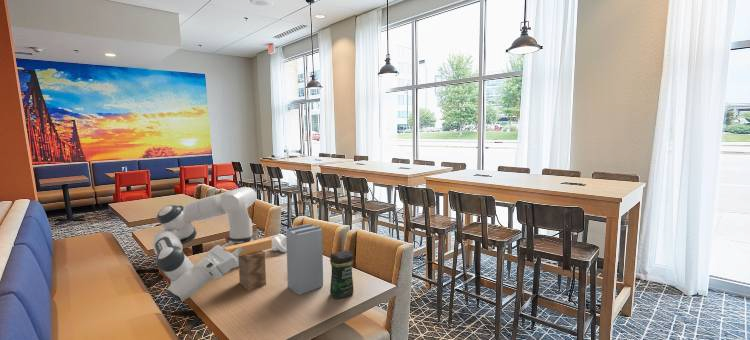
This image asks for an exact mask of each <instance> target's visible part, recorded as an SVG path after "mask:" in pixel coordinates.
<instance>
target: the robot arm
mask: <svg viewBox="0 0 750 340" xmlns="http://www.w3.org/2000/svg"><path fill="white" fill-rule="evenodd" d="M256 200H257V192H256V191H255V190H254V189H253V188H252V187H248V186H242V187H238V188H234V189H231V190H228V191H225V192H222V193H221V192H220V193H218V194H214V195H210V196H206V197H203V198H200V199H196V200H194V201H192V202H190V203H188V204H186V205H185V206H183V205H173V204H172V205H167V206H165V207H163V208H161V210H159V211H158V213H157V215H156V219H157V221H158V223H159V224H160V225H161V226H162V228H163V229H162V230H159V231H158V232H156V233H155V234H154V235H153V238H152V248H153V251H154V254H155V255H156V260H155V266H156V267H157V268H158V269H159V270H160V271H162V272H163V274H165V276H166V277H167V278H169V280H170V285H169V286H168V287H167V289H166V292H167V293H168V295H169V296H170V297H172V298H173V299H174V300H175V301H176V302H183V301H185V300H186V299H188V298H191V296H193V295H194V294H195V293H197V292H198V291H199V290H200V289H201V288H202V287H203V286H204V285H205V284H207V283H209V281H211V280H220V279H222V278H223V277H224V275H225V274H226V273H228V272H229V271H231V270H232V269H236V268H239V257H237V256H238V255H239V253H240V252H241V251H242V250H243V249H242V248H241V247H240V246H239V247H238V248H236V251H235V252H233V253H230V252H228V251H226V250H225V249H224V247H228V246H233V245H237V244H242V243H246V242H251V241H255V240H254V233H253V221H252V220H253V219H252V218H250V216H249V212H248V208H249V207H251V206H252V205H253V204H254V203H255V201H256ZM225 214H226V217H227V220H228V226H229V227H228V228H229V236H227V237H226V238H225V239H224V240H225V242H226V243H225V244H223V245H220V244H216V245H214V246H213V247H212V248H211V249H209V251H207V252H206V254H204V257H203V258H202V259H201V260H199V261H198V262H196V264H193V262H191V260H190V259H189V258H188V257H187V256H186V254H185V253H184V251H183V250H184V248H183V245H187V244H190V243H191V242H192V241H193V240H195V238H196V236H197V230H196V228H195V226H194V225H193V224H192V223H193V222H195V221H196V222H197V221H205V220H208V219H212V218H216V217H219V216H223V215H225Z"/></svg>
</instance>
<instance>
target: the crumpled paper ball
mask: <svg viewBox="0 0 750 340" xmlns="http://www.w3.org/2000/svg"><path fill="white" fill-rule="evenodd" d="M271 249H272V251H273V252H278V251H280V252H281V253H287V242H286V235H285V234H282V233H278V234H276V235H275V236H274V237H273V239H272V248H271Z"/></svg>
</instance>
